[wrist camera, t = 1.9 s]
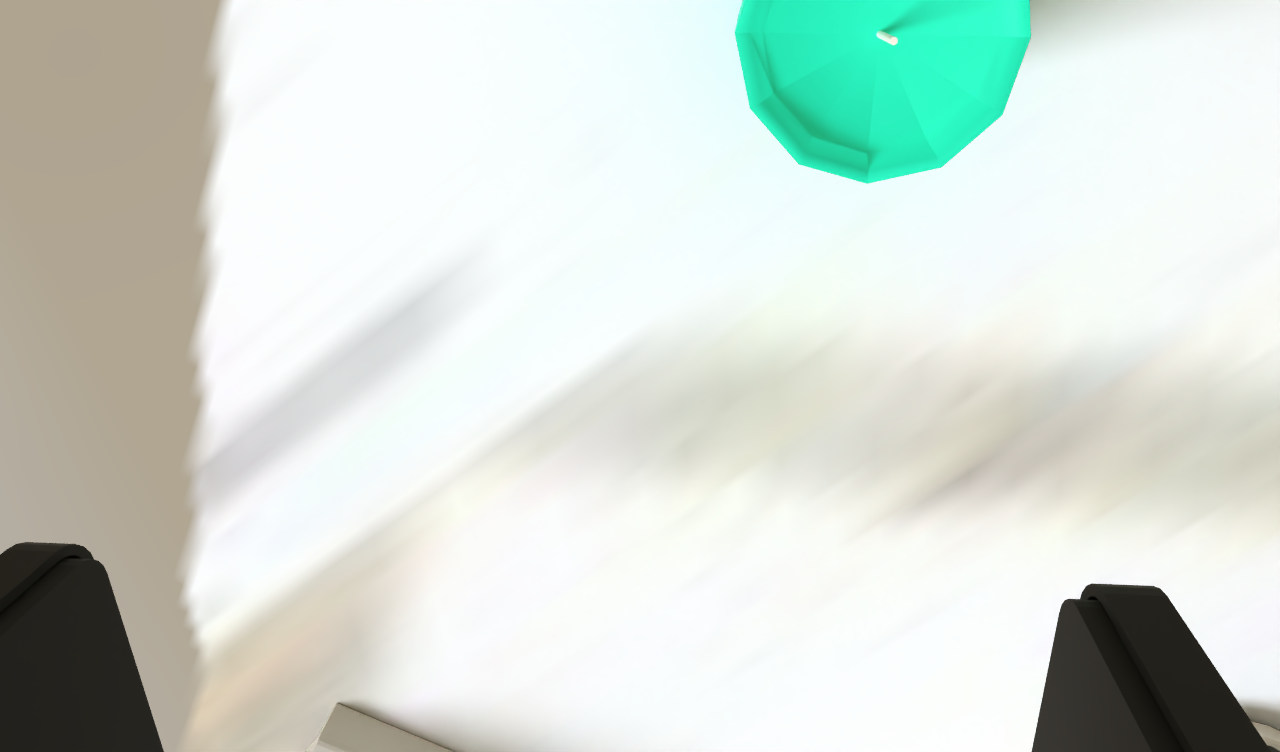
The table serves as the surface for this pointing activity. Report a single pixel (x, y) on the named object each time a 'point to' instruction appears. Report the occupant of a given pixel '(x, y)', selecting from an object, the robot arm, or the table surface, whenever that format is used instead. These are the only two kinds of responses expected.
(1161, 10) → the table surface
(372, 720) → the hinge
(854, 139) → the candle
